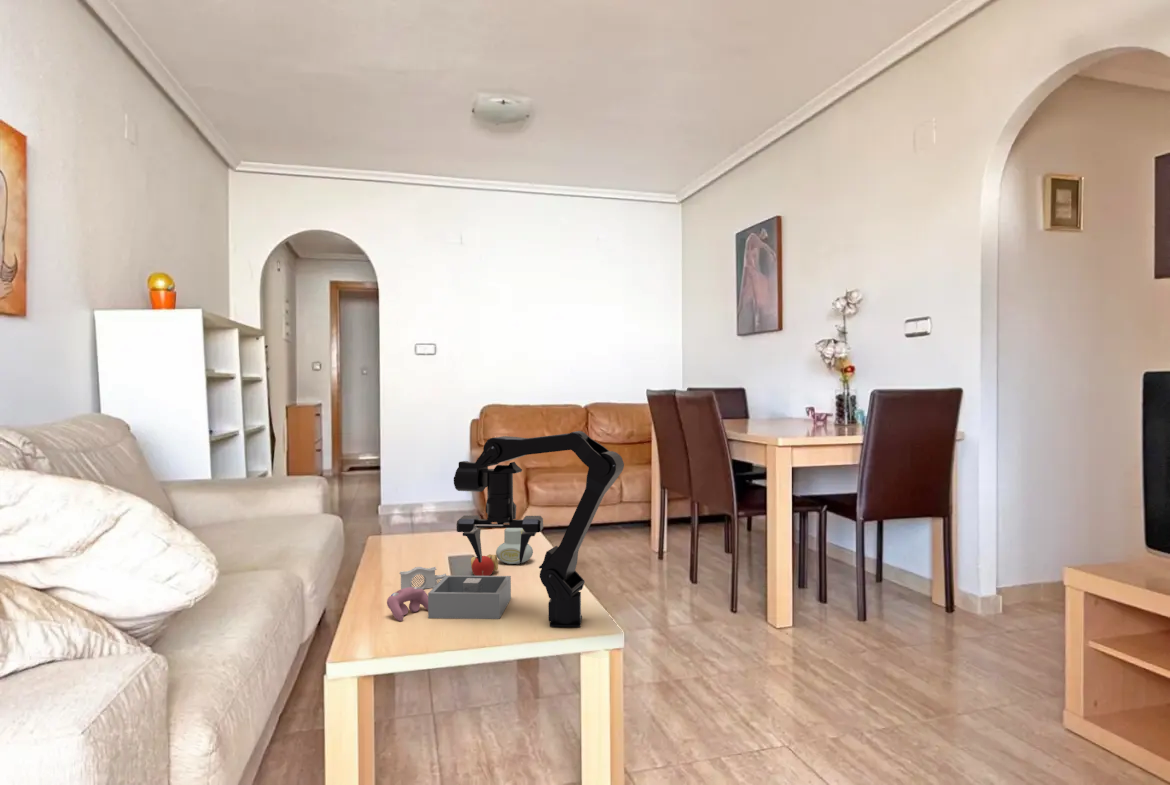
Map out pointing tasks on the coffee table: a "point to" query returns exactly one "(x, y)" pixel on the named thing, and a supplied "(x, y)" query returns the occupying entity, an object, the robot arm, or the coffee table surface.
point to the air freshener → (513, 547)
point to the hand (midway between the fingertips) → (500, 562)
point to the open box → (469, 598)
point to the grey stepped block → (472, 585)
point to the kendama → (484, 565)
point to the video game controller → (404, 595)
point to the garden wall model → (428, 575)
